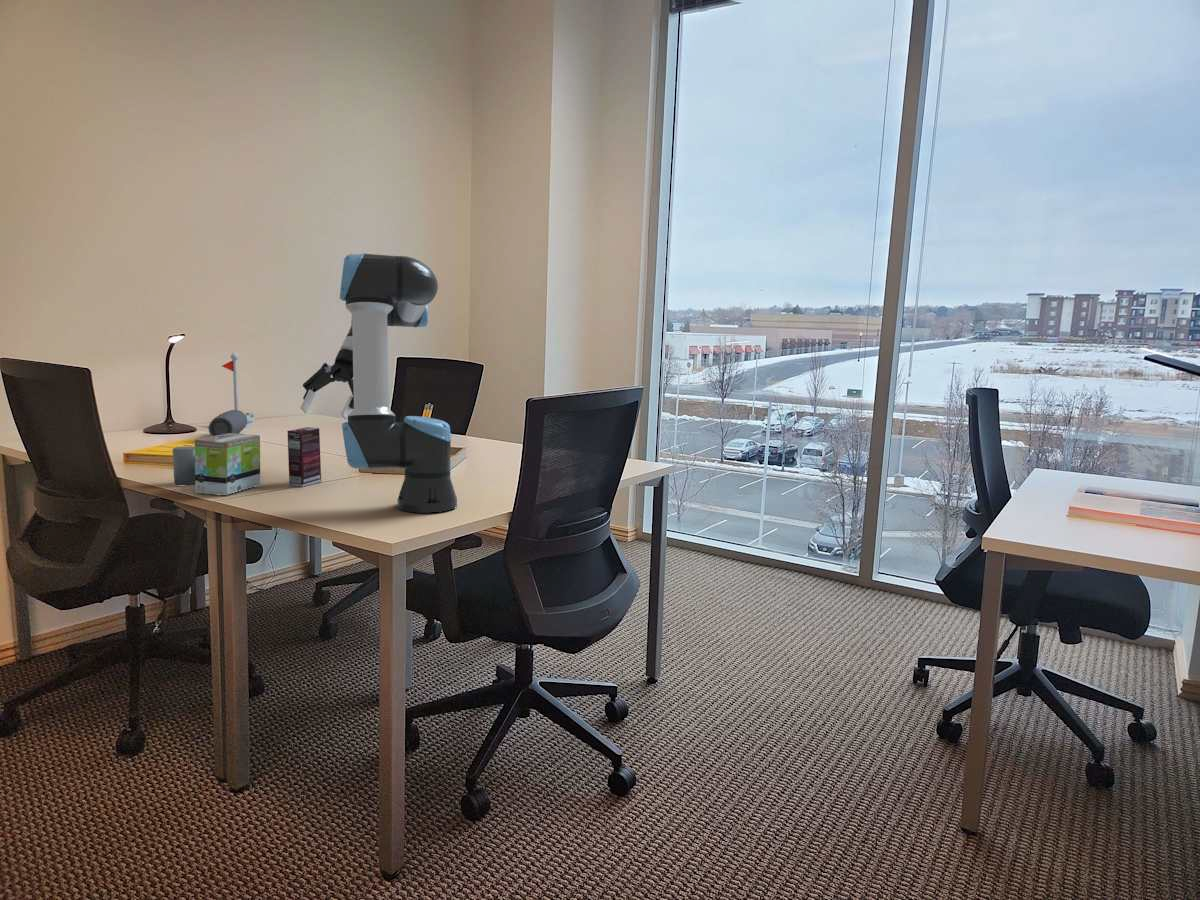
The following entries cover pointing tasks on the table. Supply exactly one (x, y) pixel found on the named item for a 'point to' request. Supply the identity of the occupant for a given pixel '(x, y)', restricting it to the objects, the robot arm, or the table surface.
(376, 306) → the robot arm
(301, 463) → the supplement box
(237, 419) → the bluetooth speaker
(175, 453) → the upright grey block
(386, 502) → the table surface
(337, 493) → the table surface
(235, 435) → the tea box
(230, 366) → the flag stand
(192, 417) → the table surface
